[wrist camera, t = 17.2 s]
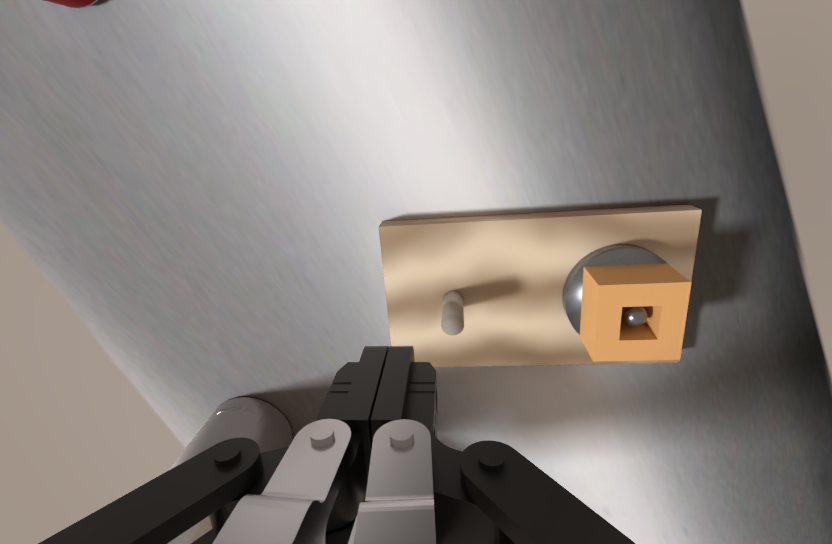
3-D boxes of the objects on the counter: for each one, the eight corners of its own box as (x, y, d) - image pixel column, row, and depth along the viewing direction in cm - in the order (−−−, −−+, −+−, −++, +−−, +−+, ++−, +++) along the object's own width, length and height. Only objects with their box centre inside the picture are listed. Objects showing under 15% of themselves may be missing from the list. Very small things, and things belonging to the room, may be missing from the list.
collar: (657, 334, 37) (680, 359, 34) (579, 336, 38) (593, 361, 34) (666, 263, 35) (691, 281, 32) (583, 266, 36) (598, 285, 32)
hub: (664, 338, 39) (693, 370, 34) (560, 341, 40) (574, 372, 35) (677, 240, 36) (711, 261, 31) (564, 246, 37) (580, 266, 32)
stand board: (669, 351, 42) (708, 396, 35) (396, 357, 44) (386, 400, 38) (689, 204, 37) (739, 225, 30) (382, 221, 40) (367, 243, 33)
